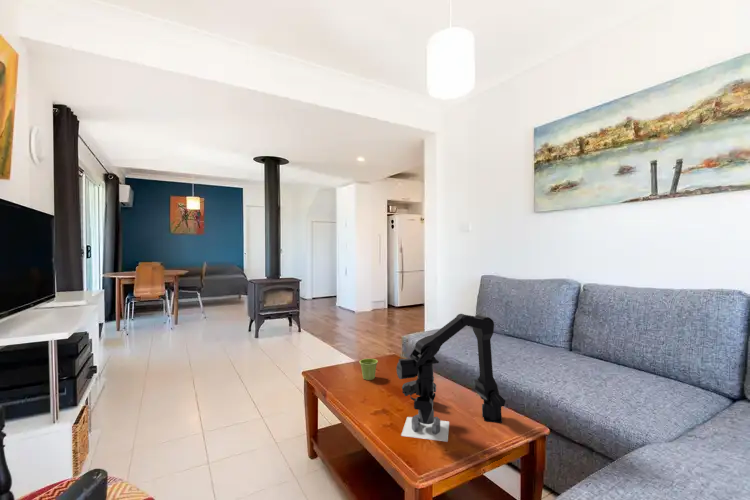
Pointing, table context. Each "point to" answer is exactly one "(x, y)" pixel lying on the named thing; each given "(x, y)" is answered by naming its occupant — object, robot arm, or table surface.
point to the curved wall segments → (434, 426)
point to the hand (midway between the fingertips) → (426, 418)
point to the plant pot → (368, 368)
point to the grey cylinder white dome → (430, 419)
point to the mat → (426, 431)
